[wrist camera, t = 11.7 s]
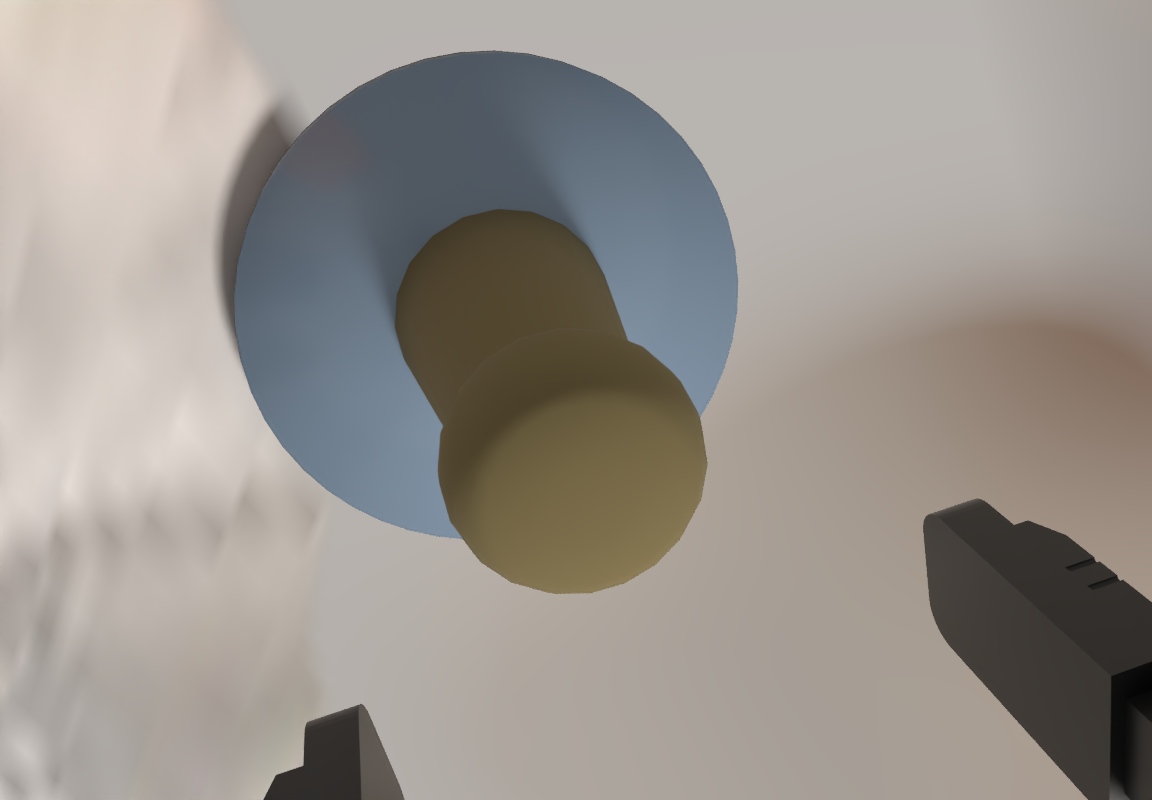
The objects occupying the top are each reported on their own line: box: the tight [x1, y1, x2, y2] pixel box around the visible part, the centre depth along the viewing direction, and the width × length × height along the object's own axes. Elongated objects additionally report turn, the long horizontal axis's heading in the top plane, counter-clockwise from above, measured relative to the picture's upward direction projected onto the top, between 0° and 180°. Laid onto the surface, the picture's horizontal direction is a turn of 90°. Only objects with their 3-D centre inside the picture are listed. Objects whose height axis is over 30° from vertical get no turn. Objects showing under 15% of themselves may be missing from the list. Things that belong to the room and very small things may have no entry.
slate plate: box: [234, 51, 738, 539], centre depth 28 cm, size 14×14×1 cm
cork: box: [395, 209, 707, 594], centre depth 23 cm, size 6×6×11 cm
